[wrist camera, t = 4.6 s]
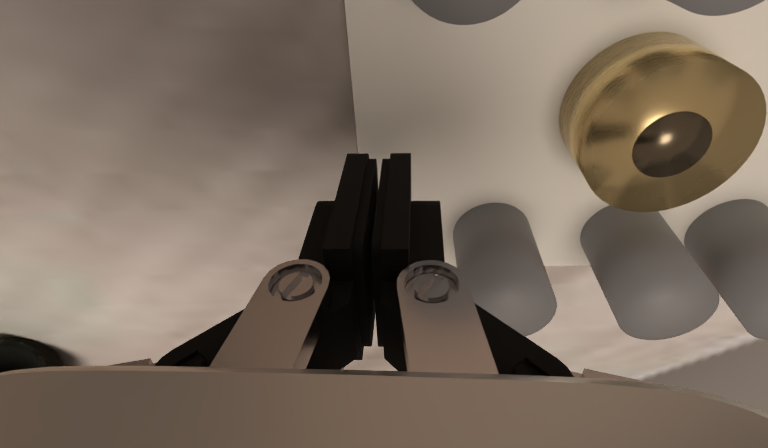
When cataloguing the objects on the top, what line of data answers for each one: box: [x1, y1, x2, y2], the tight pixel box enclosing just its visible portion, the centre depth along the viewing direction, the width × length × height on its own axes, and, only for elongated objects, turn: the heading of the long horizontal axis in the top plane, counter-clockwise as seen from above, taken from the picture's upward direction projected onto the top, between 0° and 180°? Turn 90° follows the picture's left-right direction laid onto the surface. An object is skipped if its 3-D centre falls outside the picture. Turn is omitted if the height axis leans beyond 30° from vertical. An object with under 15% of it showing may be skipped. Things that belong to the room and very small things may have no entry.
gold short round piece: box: [559, 32, 767, 212], centre depth 13 cm, size 5×5×3 cm
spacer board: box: [344, 0, 768, 340], centre depth 13 cm, size 14×20×5 cm
